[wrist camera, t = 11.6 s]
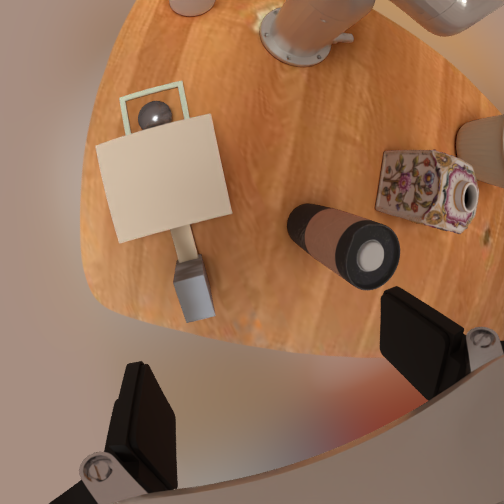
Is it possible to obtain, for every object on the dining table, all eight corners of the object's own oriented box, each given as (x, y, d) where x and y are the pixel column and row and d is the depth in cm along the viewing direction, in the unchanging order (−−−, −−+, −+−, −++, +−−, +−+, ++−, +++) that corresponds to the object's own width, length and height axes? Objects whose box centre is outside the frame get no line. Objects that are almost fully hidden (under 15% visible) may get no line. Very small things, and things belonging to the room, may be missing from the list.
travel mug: (321, 250, 50) (389, 294, 31) (280, 243, 48) (336, 288, 29) (331, 207, 48) (408, 230, 29) (290, 197, 46) (355, 216, 27)
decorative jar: (382, 149, 47) (454, 147, 30) (424, 165, 50) (492, 171, 33) (372, 211, 50) (442, 232, 33) (415, 221, 53) (481, 242, 36)
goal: (182, 81, 38) (182, 80, 37) (191, 126, 40) (191, 126, 40) (120, 98, 37) (119, 97, 36) (128, 144, 39) (127, 143, 38)
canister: (483, 190, 56) (547, 204, 36) (445, 181, 52) (521, 194, 32) (484, 124, 51) (547, 125, 31) (444, 104, 47) (518, 97, 27)
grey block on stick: (176, 151, 41) (171, 144, 31) (210, 288, 48) (215, 315, 38) (151, 157, 40) (139, 153, 31) (187, 293, 47) (186, 322, 38)
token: (163, 98, 38) (162, 95, 36) (177, 124, 40) (177, 122, 38) (135, 114, 38) (132, 112, 36) (149, 140, 40) (147, 139, 38)
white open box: (206, 126, 41) (210, 113, 32) (224, 205, 44) (232, 213, 35) (114, 151, 39) (95, 145, 30) (133, 228, 43) (119, 243, 33)
